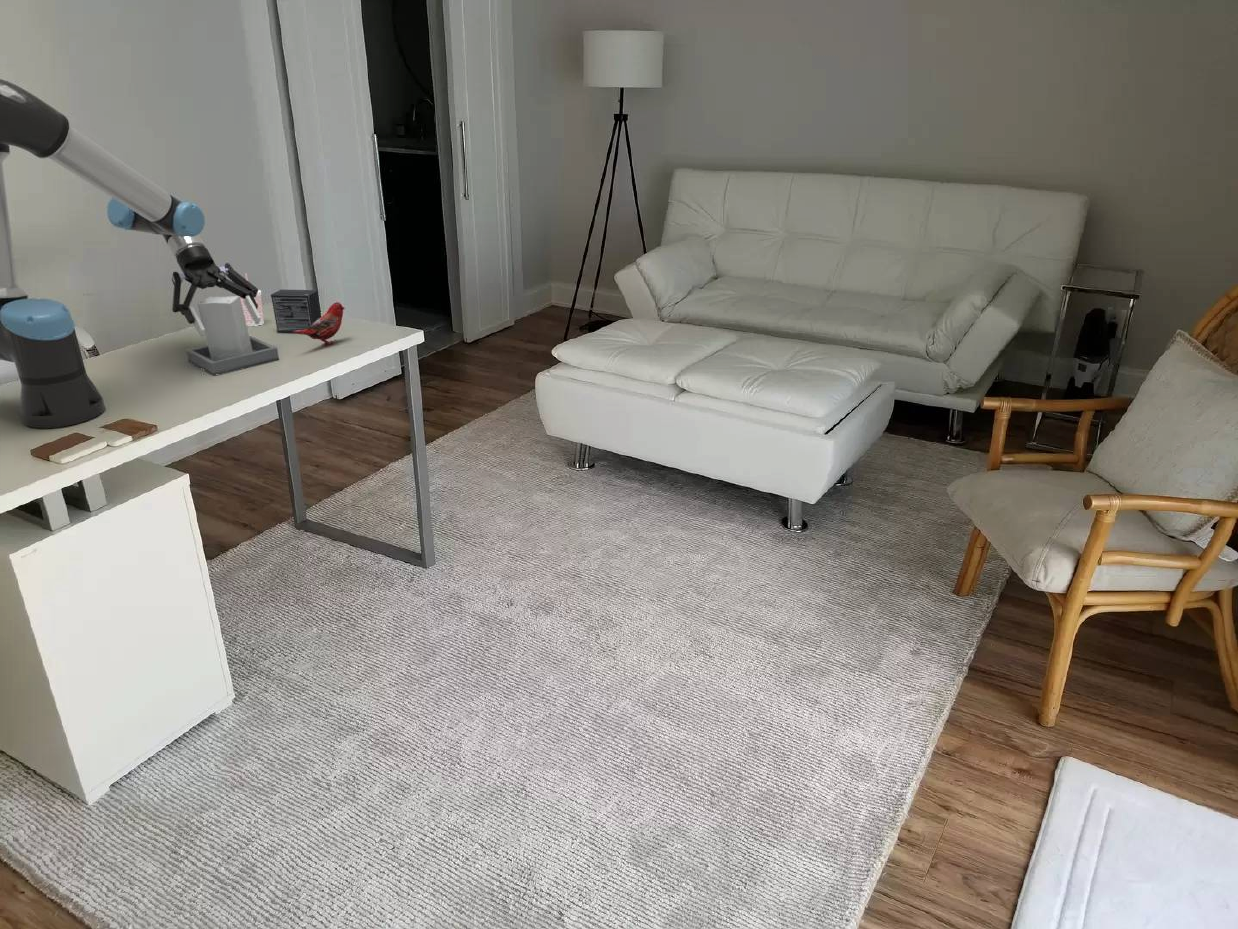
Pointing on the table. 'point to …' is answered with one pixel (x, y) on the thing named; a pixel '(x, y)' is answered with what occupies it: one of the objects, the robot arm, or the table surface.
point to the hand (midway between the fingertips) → (231, 327)
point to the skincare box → (224, 327)
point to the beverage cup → (247, 315)
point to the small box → (295, 309)
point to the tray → (233, 358)
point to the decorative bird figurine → (325, 325)
